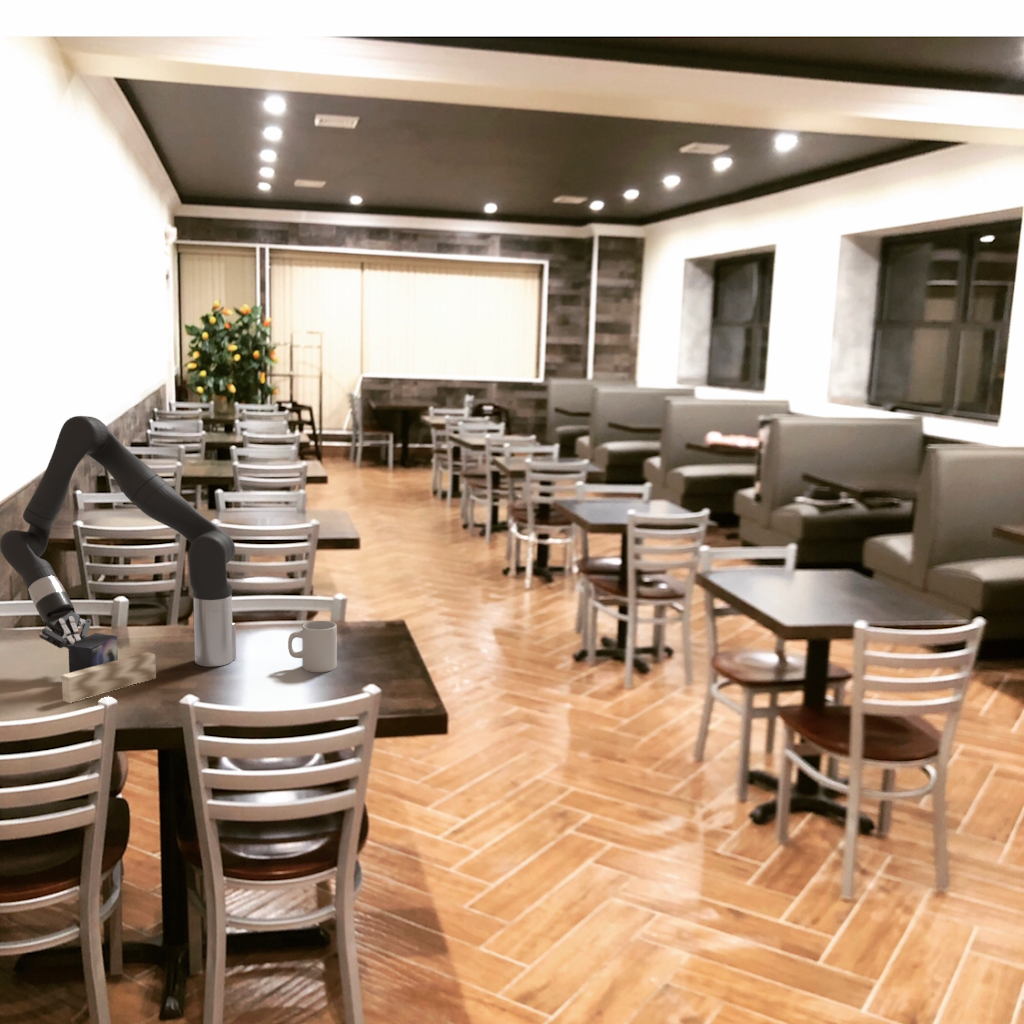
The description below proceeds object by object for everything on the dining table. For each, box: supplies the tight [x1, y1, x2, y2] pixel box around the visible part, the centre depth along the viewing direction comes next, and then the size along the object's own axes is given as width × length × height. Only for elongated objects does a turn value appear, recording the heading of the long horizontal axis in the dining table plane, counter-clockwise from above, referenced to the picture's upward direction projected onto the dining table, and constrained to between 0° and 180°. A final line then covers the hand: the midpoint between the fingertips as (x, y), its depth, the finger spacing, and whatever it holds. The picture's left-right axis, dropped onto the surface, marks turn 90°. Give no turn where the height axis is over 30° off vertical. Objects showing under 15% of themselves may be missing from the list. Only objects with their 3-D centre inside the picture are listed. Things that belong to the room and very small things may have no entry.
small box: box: [68, 632, 119, 673], centre depth 237 cm, size 11×6×10 cm, turn 168°
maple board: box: [61, 651, 157, 704], centre depth 233 cm, size 22×3×6 cm, turn 144°
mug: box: [287, 620, 338, 673], centre depth 252 cm, size 12×8×11 cm
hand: (81, 658), depth 239 cm, fingers closed
